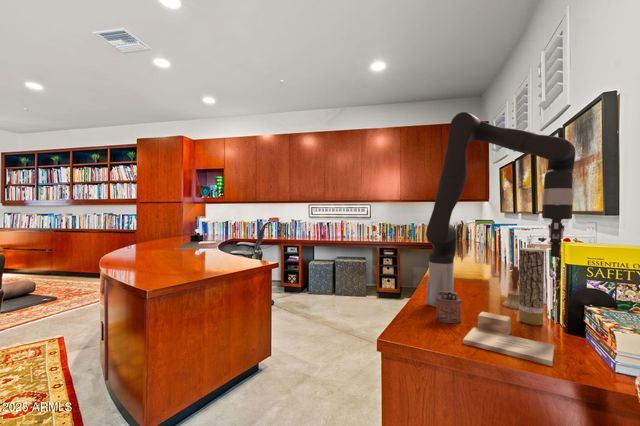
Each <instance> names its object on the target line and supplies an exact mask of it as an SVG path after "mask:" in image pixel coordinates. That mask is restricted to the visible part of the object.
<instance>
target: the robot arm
mask: <svg viewBox="0 0 640 426" xmlns="http://www.w3.org/2000/svg"><path fill="white" fill-rule="evenodd" d="M447 136H448V137H447V147H446V151H445V156H444V160H443V166H442V170H441V173H440V177H439V182H438V187H437V191H436V196H435V201H434V205H433V210H432V212H431V215H430V219H429V221H428V224H427V227H426V232H425V236H426V239H427V242H429V244H430V245H432V246H433V247H432V250H431V252H430V253H429V255H428V279H427V281H426V305H428V306H431V307H433V308H436V297H442V295H438V291H446V292H448V291H451V292H452V293H454V266H455V265H454V259H455V256H456V251H457V231H456V228H455V227H454V225H453V224H452V223H450V222H451V218H452V214H453V211H454V208H455V207H456V205H457V203H458V202H459V200H460V199H461V196H462V194H463V193H464V189H465V186H466V181H467V176H468V165H467V154H466V153H467V147H468V144H469V141H472V142H473V141H474V142H481V143H482V142H483V143H488V144H492V145H495V146H499V147H501V148H505V149H508V150H510V151H514V152H518V153H521V154H524V155H532V156H536V157H538V158H541V159H545V160H548V161H547V171H546V172H545V174H544V177H543V179H544V181H543V194H542V205H541V207H542V208H541V218H542V219H547V220H548V219H549V220H551V223H550V224H548V229H547V230H548V238H549V243H550V257H551V258H559V257H561V244H562V243H563V241H562V240H563V239H564V232H565V225H564V224H563V223H562V220H572V219H573V209H574V206H573V204H574V194H573V172H574V171H573V170H574V167H575V160H576V148H575V145H574V144H573V143H572V142H570V141H569V140H567V139H566V138H562V137H559V136H553V135H547V134H540V133H536V132H532V131H529V130H524V129H519V128H512V127H505V126H504V127H503V126H497V125H494V124H490V123H487V122H485V121H483V120H481V119H480V118H478V117H477V116H475V115H473V114H472V113H470V112H467V111H461V112H459V113H456V114H455V116H454V117H453V118H452V119H451V122H450V124H449V130H448V135H447ZM444 296H445V295H444ZM445 297H446V296H445Z"/></svg>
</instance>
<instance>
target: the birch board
mask: <svg viewBox="0 0 640 426" xmlns="http://www.w3.org/2000/svg"><path fill="white" fill-rule="evenodd" d="M462 344H463V345H467V346H473V347H477V348H479V349H484V350H488V351H491V352H496V353H500V354H503V355H508V356H510V357H515V358H518V359H523V360H527V361H531V362H535V363H539V364H543V365H545V366H550V367H553V361H554V356H555V355H554V354H555V345H554V344H550V343H546V342H541V341H537V340H531V339H527V338H522V337H519V336H513V335H510V334H509V335H505V334H501V333H496V332H492V331H487V330H483V329H478V327H475V326H474V327H472V328H471V330H470V331H469V332H468V333H467V334H466V335H465V337H463V339H462Z"/></svg>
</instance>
